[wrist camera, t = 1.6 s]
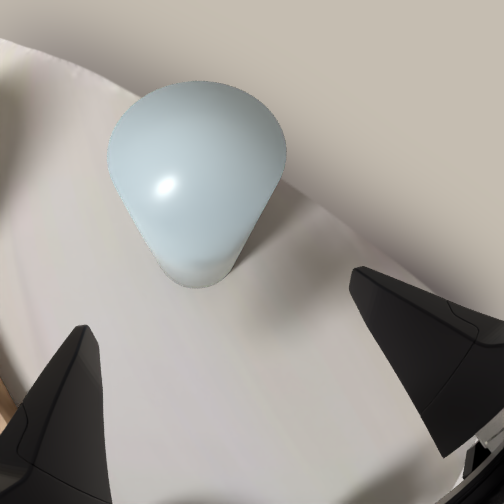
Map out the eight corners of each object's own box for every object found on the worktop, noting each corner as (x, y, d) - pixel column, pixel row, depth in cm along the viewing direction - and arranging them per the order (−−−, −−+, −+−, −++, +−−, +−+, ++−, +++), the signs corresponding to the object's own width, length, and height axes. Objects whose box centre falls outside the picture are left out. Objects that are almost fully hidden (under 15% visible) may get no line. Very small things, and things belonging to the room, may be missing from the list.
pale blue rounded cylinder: (253, 258, 22) (320, 167, 9) (185, 304, 20) (163, 267, 8) (207, 196, 22) (222, 64, 10) (141, 237, 21) (84, 127, 8)
